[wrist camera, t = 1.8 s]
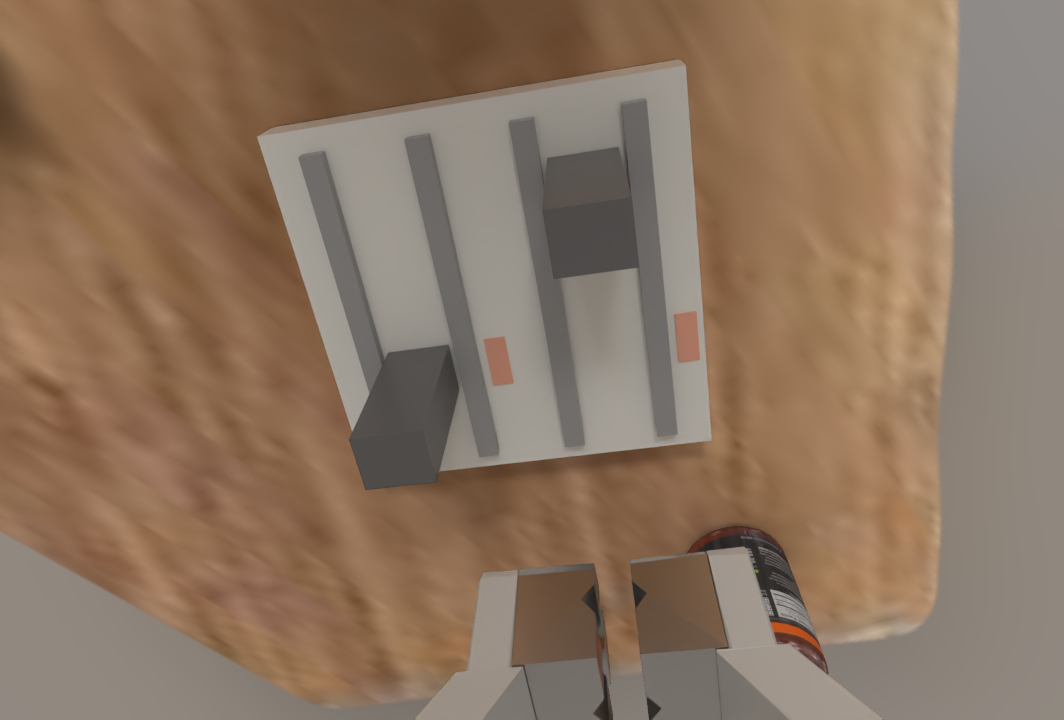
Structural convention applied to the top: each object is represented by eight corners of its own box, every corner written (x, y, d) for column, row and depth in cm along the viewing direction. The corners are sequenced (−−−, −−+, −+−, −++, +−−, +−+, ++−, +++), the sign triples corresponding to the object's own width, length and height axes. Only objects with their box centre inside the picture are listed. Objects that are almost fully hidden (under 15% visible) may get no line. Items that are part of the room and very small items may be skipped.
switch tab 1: (388, 352, 37) (349, 439, 30) (448, 344, 37) (422, 430, 30) (400, 397, 38) (365, 490, 32) (459, 389, 38) (436, 482, 31)
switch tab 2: (547, 158, 32) (542, 210, 26) (618, 147, 32) (631, 196, 25) (556, 215, 34) (553, 279, 27) (624, 204, 33) (639, 267, 27)
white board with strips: (273, 127, 34) (251, 139, 32) (679, 59, 32) (687, 67, 30) (375, 457, 43) (365, 486, 40) (705, 419, 41) (713, 447, 38)
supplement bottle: (715, 613, 47) (755, 791, 37) (661, 551, 45) (689, 723, 35) (803, 570, 45) (871, 745, 35) (752, 504, 43) (808, 670, 33)
